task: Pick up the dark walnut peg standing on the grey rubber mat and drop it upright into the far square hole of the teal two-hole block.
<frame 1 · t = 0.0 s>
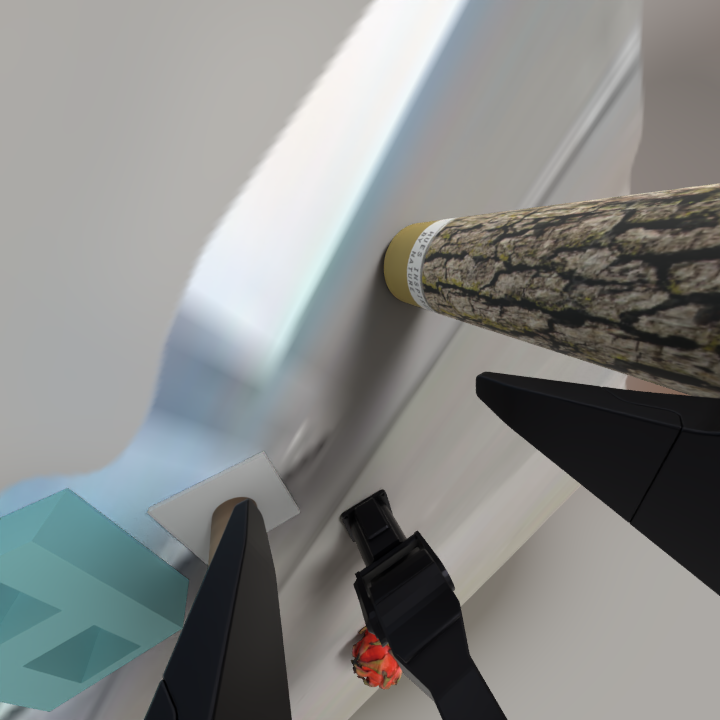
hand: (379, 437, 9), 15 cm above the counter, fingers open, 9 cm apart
rubber mat: (235, 508, 25), on the counter
walnut peg: (235, 512, 25), resting on rubber mat
paper tube: (410, 264, 24), on the counter
hole block: (72, 577, 21), on the counter
dragon fruit: (368, 628, 50), on the counter
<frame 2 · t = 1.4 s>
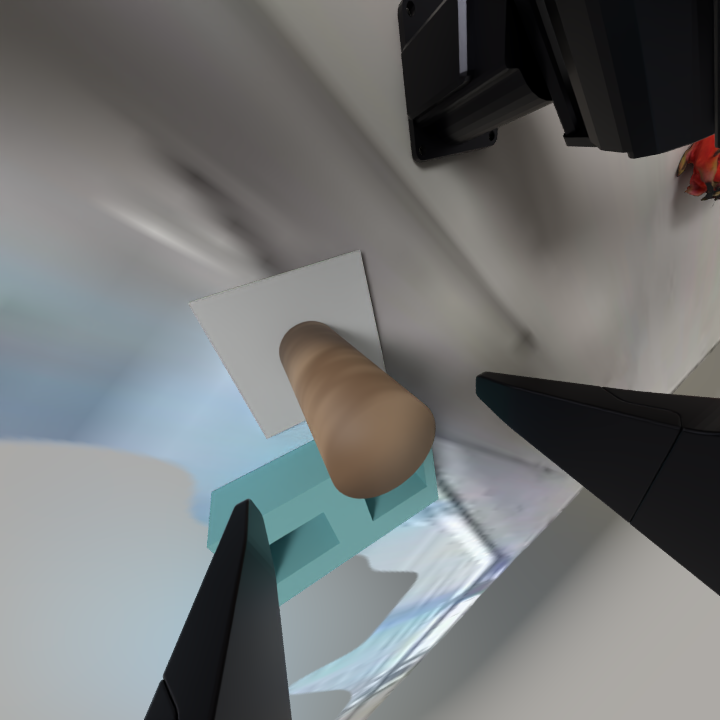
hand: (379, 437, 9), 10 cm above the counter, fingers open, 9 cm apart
rubber mat: (308, 348, 17), on the counter
walnut peg: (310, 350, 17), resting on rubber mat
hole block: (332, 477, 23), on the counter
dragon fruit: (692, 153, 28), on the counter
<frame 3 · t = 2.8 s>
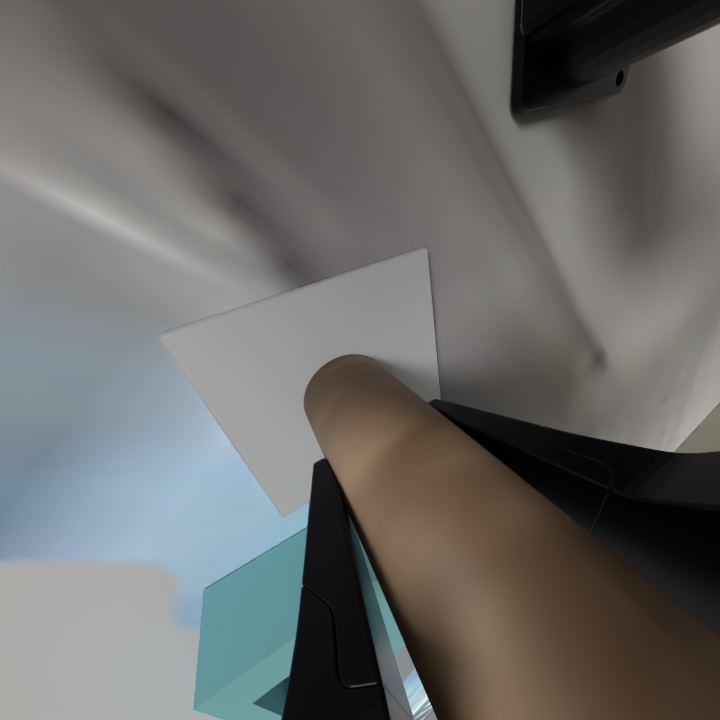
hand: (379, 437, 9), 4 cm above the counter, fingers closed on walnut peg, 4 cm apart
rubber mat: (343, 390, 12), on the counter
walnut peg: (347, 395, 11), resting on rubber mat, touching gripper
hole block: (363, 545, 17), on the counter
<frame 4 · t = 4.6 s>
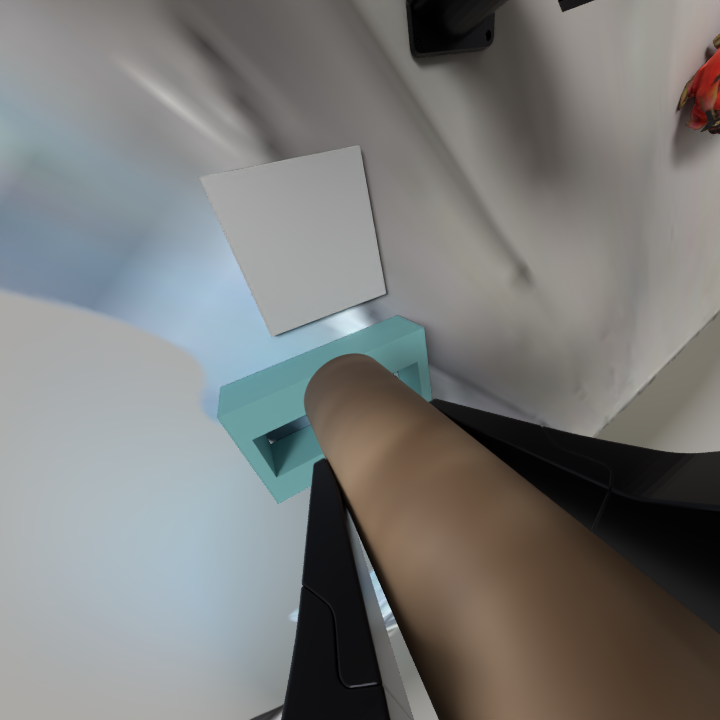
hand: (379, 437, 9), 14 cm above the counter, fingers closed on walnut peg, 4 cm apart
rubber mat: (310, 247, 18), on the counter
walnut peg: (348, 394, 11), point 11 cm above the counter, touching gripper
hole block: (333, 393, 24), on the counter
dragon fruit: (694, 87, 28), on the counter
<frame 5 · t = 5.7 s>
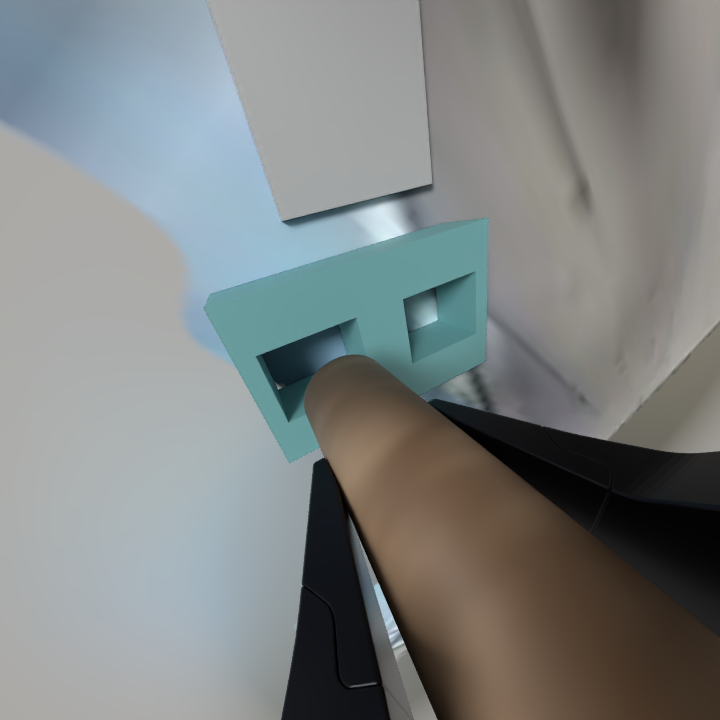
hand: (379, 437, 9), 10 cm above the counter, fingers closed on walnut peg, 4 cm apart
rubber mat: (338, 89, 13), on the counter
walnut peg: (348, 396, 11), point 7 cm above the counter, touching gripper
hole block: (359, 325, 19), on the counter
when the fingers open (6 cm above the counter, at t = 6.7 s): walnut peg drops 3 cm, resting in hole block.
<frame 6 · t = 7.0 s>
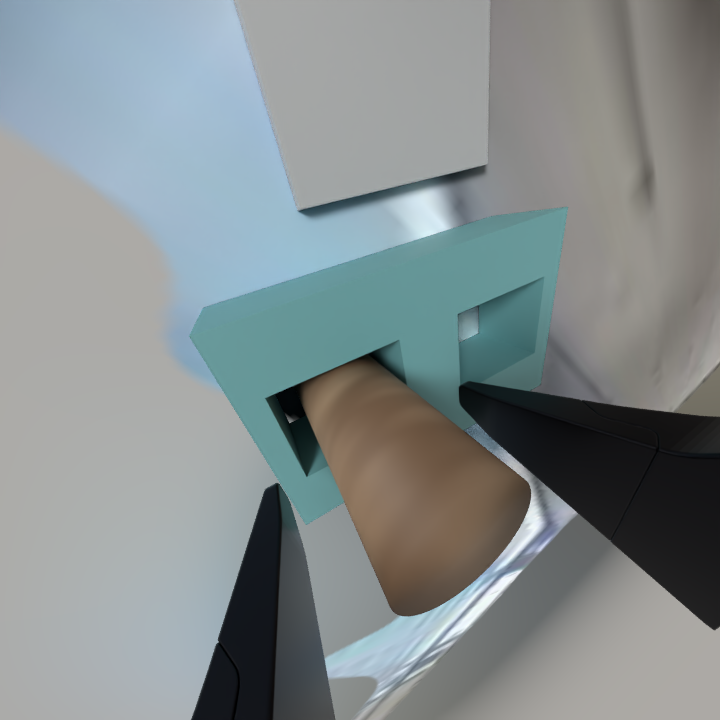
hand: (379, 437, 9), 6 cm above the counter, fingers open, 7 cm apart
rubber mat: (378, 28, 9), on the counter
walnut peg: (327, 368, 14), resting in hole block
hole block: (389, 342, 15), on the counter
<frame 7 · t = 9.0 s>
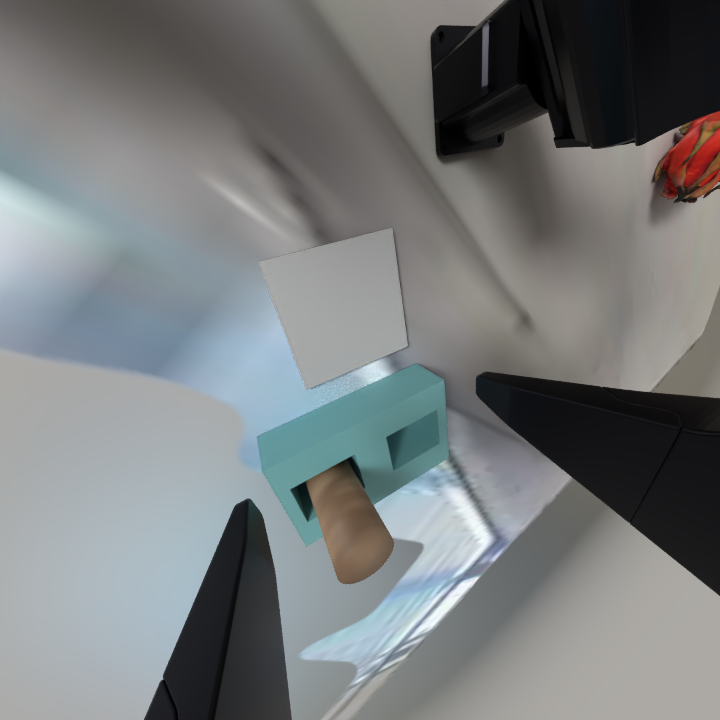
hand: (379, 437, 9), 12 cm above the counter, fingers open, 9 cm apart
rubber mat: (345, 311, 20), on the counter
walnut peg: (319, 454, 24), resting in hole block
hole block: (356, 435, 25), on the counter
dragon fruit: (665, 163, 32), on the counter
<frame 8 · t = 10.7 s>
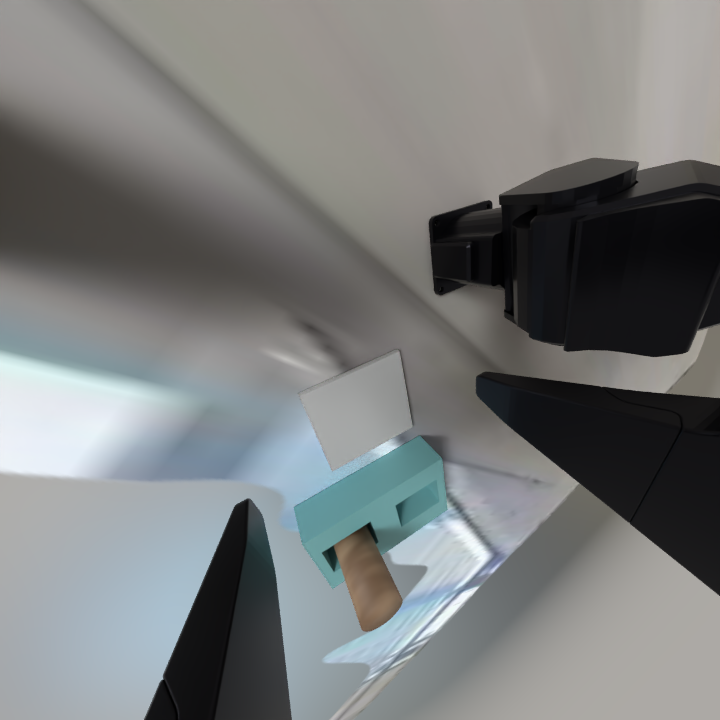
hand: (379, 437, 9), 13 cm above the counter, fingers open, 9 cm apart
rubber mat: (362, 411, 25), on the counter
walnut peg: (341, 512, 30), resting in hole block
hole block: (370, 494, 31), on the counter
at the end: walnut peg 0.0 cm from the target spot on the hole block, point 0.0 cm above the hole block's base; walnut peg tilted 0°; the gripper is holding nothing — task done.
